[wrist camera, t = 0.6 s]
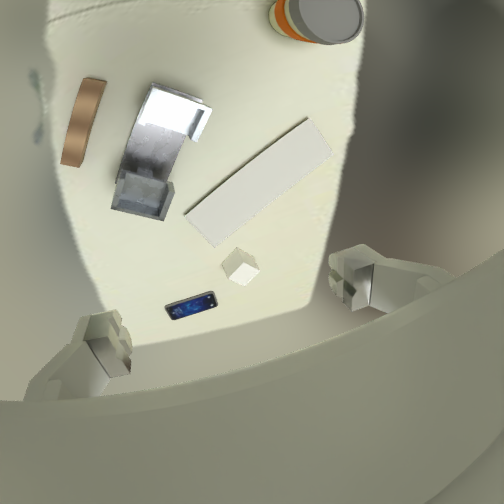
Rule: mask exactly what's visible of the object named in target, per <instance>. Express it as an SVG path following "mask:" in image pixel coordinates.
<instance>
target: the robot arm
mask: <svg viewBox="0 0 504 504" xmlns="http://www.w3.org/2000/svg"><path fill="white" fill-rule="evenodd" d="M329 266H330V267H331V268H332V270H331V271H330V273H329V284H330V287H331V290H332V291H333V293H334V294H335V295H336V296H337V297H341V298H343V303H344V304H345V305H346V306H347V307H348V308H349V310H351V311H355V310H358V309H360V308H363V307H366V306H368V305H370V306H371V307H374V308H377V309H379V310H381V311H384V312H386V313H388V314H386V315H384V316H382V317H380V318H377V319H375V320H373V321H371V322H368V323H366V324H364V325H362V326H359V327H357V328H354V329H352V330H350V331H347V332H345V333H343V334H340V335H337V336H335V337H332V338H330V339H327V340H324V341H322V342H319V343H317V344H314V345H311V346H308V347H306V348H303V349H300V350H297V351H294V352H291V353H288V354H285V355H282V356H279V357H276V358H273V359H270V360H267V361H263V362H260V363H257V364H253V365H250V366H247V367H243V368H240V369H236V370H232V371H229V372H225V373H221V374H217V375H213V376H210V377H205V378H201V379H197V380H192V381H188V382H183V383H178V384H174V385H169V386H163V387H159V388H153V389H148V390H141V391H136V392H129V393H122V394H114V395H106V396H100V394H101V393H102V391H103V390H104V388H105V387H106V385H107V384H108V382H109V380H110V378H113V377H118V376H123V375H128V374H130V372H131V371H130V370H131V359H130V358H129V356H130V354H131V353H132V341H131V337H130V334H129V332H128V330H127V328H125V327H124V326H122V325H121V322H122V318H121V316H120V314H119V312H118V311H117V310H116V309H115V310H111V311H106V312H101V313H96V314H91V315H87V316H82V317H81V318H80V319H79V321H78V324H77V327H76V329H75V332H74V335H73V338H72V341H71V343H70V344H67V345H66V346H65V347H64V348H63V349H62V350H61V351H59V353H57V354H56V355H55V356H54V357H53V358H52V359H51V360H50V361H49V362H48V363H47V364H46V365H45V366H44V367H43V368H42V369H41V370H40V371H39V372H38V373H37V374H36V375H35V376H34V377H33V378H32V379H31V380H30V381H29V384H28V387H27V390H26V393H25V396H24V399H23V401H2V400H1V401H0V504H504V249H502V250H500V251H499V252H497V253H496V254H494V255H493V256H491V257H490V258H488V259H487V260H485V261H484V262H482V263H480V264H479V265H477V266H476V267H474V268H472V269H471V270H469V271H468V272H466V273H464V274H463V275H461V276H459V277H457V278H456V277H454V276H453V275H452V274H450V273H448V272H447V271H445V270H444V269H442V268H440V267H435V266H429V265H425V264H419V263H414V262H409V261H403V260H398V259H392V258H389V259H386V258H385V257H383V256H382V255H380V254H379V253H377V252H375V251H374V250H372V249H371V248H369V247H368V246H366V245H365V244H360V245H357V246H355V247H352V248H348V249H345V250H342V251H339V252H336V253H333V254H330V256H329Z"/></svg>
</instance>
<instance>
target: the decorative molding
mask: <svg viewBox="0 0 504 504" xmlns="http://www.w3.org/2000/svg"><path fill="white" fill-rule="evenodd" d="M333 155H334V153H333V152H332V150H331V149H330V147H329V146H328V144H327V142H326V141H325V139H324V138H323V136H322V135H321V133H320V132H319V130H318V129H317V127H316V126H315V124H314V123H313V122H312V120H311V119H310V118H309V119H307V120H306V121H304V122H303V123H301V124H300V125H299V126H297V127H296V128H294V129H293V130H292V131H290V132H289V133H288V134H286V135H285V136H283V137H282V138H281V139H279V140H278V141H277V142H275V143H274V144H273V145H271V146H270V147H269V148H267V149H266V150H265V151H263V152H262V153H261V154H260V155H258V156H257V157H256V158H254V159H253V160H252V161H250V162H249V163H248V164H247V165H245V166H244V167H243V168H242V169H240V170H239V171H238V172H237V173H235V174H234V175H233V176H232V177H230V178H229V179H228V180H227V181H225V182H224V183H223V184H222V185H221V186H219V187H218V188H217V189H216V190H215V191H213V192H212V193H211V194H210V195H209V196H207V197H206V198H205V199H204V200H203V201H202V202H200V203H199V204H198V205H197V206H196V207H195V208H193V209H192V210H191V211H190V212H189V213H188V214H186V215H185V216H184V217H185V218H186V219H187V220H188V221H189V222H190V223H191V224H192V225H193V226H194V227H195V229H196V230H197V231H198V232H199V233H200V234H201V235H202V236H203V237H204V238H205V239H206V240H207V241H208V242H209V243H210V244H211V245H212V246H213V247H214V248H215V247H216V246H217V245H219V244H220V243H221V242H222V241H224V240H225V239H226V238H227V237H228V236H230V235H231V234H232V233H233V232H235V231H236V230H237V229H238V228H240V227H241V226H242V225H243V224H245V223H246V222H247V221H249V220H250V219H251V218H252V217H254V216H255V215H256V214H257V213H259V212H260V211H261V210H262V209H264V208H265V207H266V206H268V205H269V204H270V203H271V202H273V201H274V200H275V199H276V198H278V197H279V196H280V195H282V194H283V193H284V192H286V191H287V190H288V189H289V188H291V187H292V186H293V185H295V184H296V183H297V182H298V181H300V180H301V179H302V178H304V177H305V176H306V175H308V174H309V173H310V172H312V171H313V170H314V169H316V168H317V167H318V166H320V165H321V164H322V163H323V162H325V161H326V160H327V159H329V158H330V157H331V156H333Z"/></svg>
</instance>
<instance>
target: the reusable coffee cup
mask: <svg viewBox="0 0 504 504" xmlns="http://www.w3.org/2000/svg"><path fill="white" fill-rule="evenodd" d="M269 21H270V23H271V25H272V27H273V28H274V29H275V30H276V31H277V32H278V33H280V34H281V35H284V36H287V37H291V38H294V39H296V40H300V41H305V42H310V43H319V44H323V45H334V44H342V43H347V42H350V41H352V40H353V39H355V38H356V37H357V36H358V35H359V33H360V32H361V30H362V27H363V23H364V12H363V8H362V5H361V3H360V1H359V0H278V1H277V2H276V3H275V4H273V5H272V7H271V8H270V11H269Z"/></svg>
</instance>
